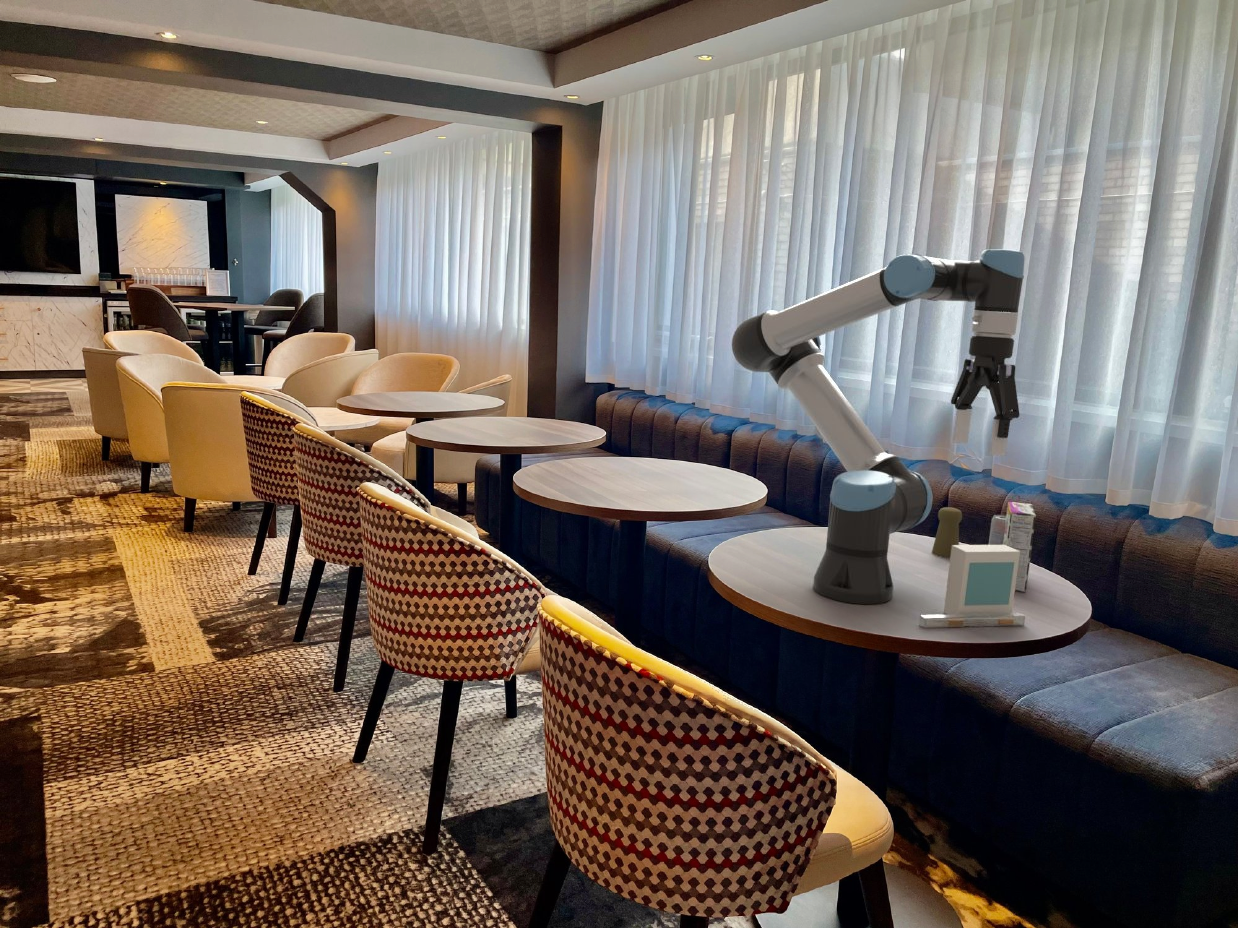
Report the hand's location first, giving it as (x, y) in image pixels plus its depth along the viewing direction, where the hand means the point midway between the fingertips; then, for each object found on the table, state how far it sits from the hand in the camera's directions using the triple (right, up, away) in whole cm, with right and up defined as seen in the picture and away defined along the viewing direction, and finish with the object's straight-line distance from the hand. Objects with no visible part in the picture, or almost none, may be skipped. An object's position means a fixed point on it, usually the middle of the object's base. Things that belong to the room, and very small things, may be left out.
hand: (977, 448), depth 171 cm
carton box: (-2, -31, -4) cm, 31 cm away
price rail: (-5, -32, -9) cm, 33 cm away
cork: (+8, -24, +39) cm, 46 cm away
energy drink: (+15, -26, +28) cm, 41 cm away
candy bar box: (+14, -28, +18) cm, 36 cm away
